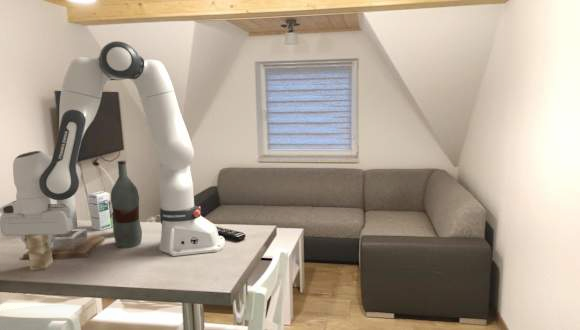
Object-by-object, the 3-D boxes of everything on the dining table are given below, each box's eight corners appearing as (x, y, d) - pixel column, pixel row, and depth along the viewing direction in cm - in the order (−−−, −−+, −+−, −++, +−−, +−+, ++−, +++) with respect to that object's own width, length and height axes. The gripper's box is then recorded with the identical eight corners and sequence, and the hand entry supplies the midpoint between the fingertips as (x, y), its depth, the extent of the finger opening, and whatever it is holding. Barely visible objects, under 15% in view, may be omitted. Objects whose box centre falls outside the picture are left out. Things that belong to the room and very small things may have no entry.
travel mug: (71, 233, 164) (65, 183, 161) (56, 232, 166) (50, 182, 162) (82, 228, 170) (77, 179, 167) (67, 227, 172) (62, 179, 168)
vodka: (110, 248, 147) (102, 163, 142) (121, 239, 156) (114, 159, 151) (137, 248, 147) (129, 163, 142) (146, 239, 156) (140, 158, 151)
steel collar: (87, 239, 153) (86, 228, 152) (74, 250, 143) (73, 238, 142) (57, 240, 152) (56, 229, 152) (42, 251, 142) (41, 239, 141)
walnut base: (104, 240, 156) (104, 236, 156) (85, 256, 140) (85, 252, 140) (48, 242, 155) (48, 238, 155) (23, 259, 139) (23, 254, 139)
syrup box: (100, 231, 167) (96, 195, 164) (91, 228, 170) (87, 193, 167) (113, 227, 171) (110, 192, 169) (104, 225, 174) (100, 190, 172)
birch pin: (53, 263, 135) (49, 230, 133) (45, 269, 131) (41, 235, 129) (38, 264, 135) (34, 230, 133) (30, 269, 131) (26, 235, 129)
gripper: (73, 201, 133) (78, 243, 135) (6, 203, 132) (12, 245, 135) (64, 206, 127) (69, 250, 129) (-7, 208, 126) (0, 252, 128)
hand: (39, 247), depth 132 cm, fingers closed on birch pin, 4 cm apart
